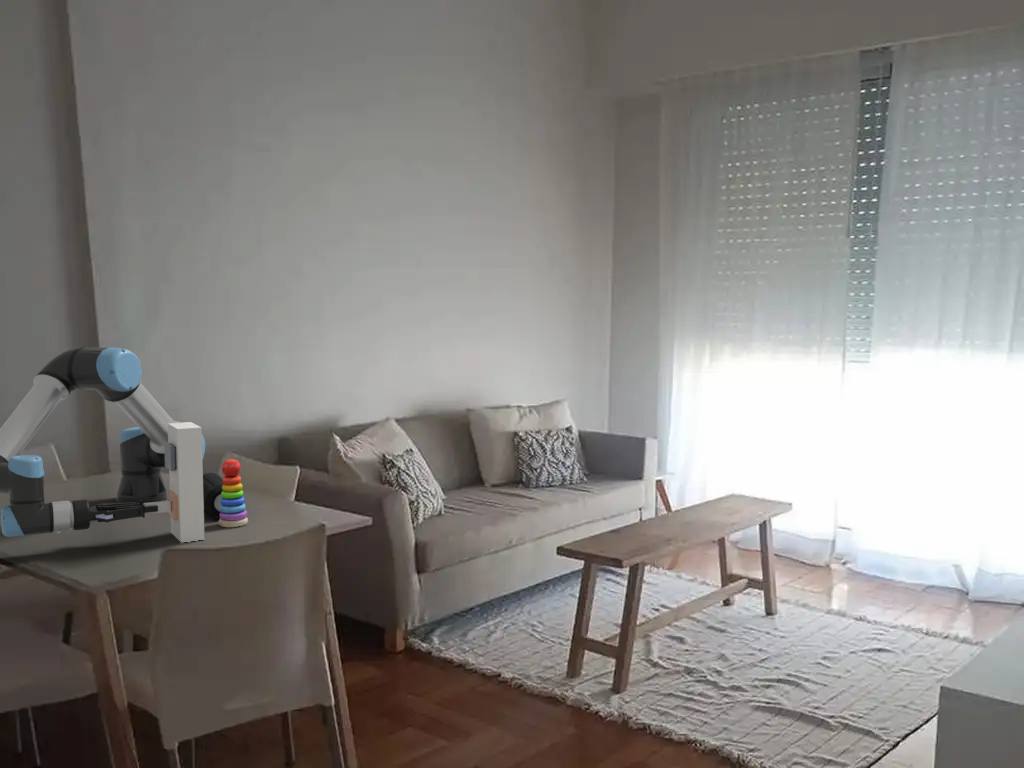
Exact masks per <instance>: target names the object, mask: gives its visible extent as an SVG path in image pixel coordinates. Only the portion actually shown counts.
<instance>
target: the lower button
mask: <svg viewBox="0 0 1024 768" xmlns="http://www.w3.org/2000/svg"><path fill="white" fill-rule="evenodd" d="M167 491H168V498H167V501H171V512H167V514H168V516H169V517H170V518H171V517H172V518H173V519H174V520H178V496H177V495H176V494H175V493H174V492H173V491H172V490H171V491H170V490H167Z"/></svg>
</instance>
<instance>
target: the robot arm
mask: <svg viewBox="0 0 1024 768" xmlns="http://www.w3.org/2000/svg"><path fill="white" fill-rule="evenodd" d="M141 365H142V363H141V361H140V359H139V358H138V356H137V355H136V354H135V353H134V352H132V351H131V350H129V349H127V348H120V347H115V346H114V347H85V346H81V347H80V346H78V347H76V346H75V347H72V348H68V349H66V350H64V351H63V352H61V353H59V354H57V355H56V356H55V357H53V358H52V359H51V360H49V362H47V363H46V364H45V365H44V366H43V367H42V368H41V369H40V370H39V372H38V373H37V374H36V375H35V376H34V377H33V386H32V387H31V388H30V389H29V391H28V392H27V393H26V395H25V396H24V397H23V399H22V400H21V401H20V402H19V403H18V405H17V406H16V408H14V410H13V411H12V413H11V414H10V415H9V417H8V418H7V419H6V420H5V422H4V423H3V425H2V426H1V427H0V494H3V495H4V494H7V495H9V504H8V505H5V506H2V507H1V509H0V513H1V515H0V518H1V519H0V522H1V523H0V524H1V532H2V535H3V536H5V537H25V536H26V537H27V536H33V535H41V534H51V533H56V534H58V535H61V534H62V532H70V531H71V530H74V531H80V530H81V531H82V530H83V531H84V530H88V529H90V526H91V522H92V521H97V522H98V523H110V522H114V521H122V520H127V519H134V518H144V519H145V517H146V515H151V514H152V515H153V514H160V513H161V514H162V513H168V512H171V501H168V491H169V490H168V488H167V485H166V483H165V480H164V478H163V475H162V469H164V468H165V469H167V468H166V467H165V448H164V443H168V423H182V422H181V421H178V420H173V418H172V417H171V416H170V415H169V413H167V412H166V410H165V409H164V408H163V407H162V406H161V404H159V402H158V401H157V400H156V398H154V397H153V395H152V394H150V392H149V390H148V389H146V387H145V385H143V384H142V376H143V369H142V368H141ZM77 390H90V391H96V392H97V393H98V394H99V395H100V396H101V397H102V398H103V399H104V400H105V401H107V402H109V403H116V404H117V406H119V408H120V409H121V410H122V411H123V412H124V413H125V414H126V416H128V417H129V419H130V420H132V422H133V423H134V424H135V425H136V426H135V427H130V428H129V427H128V428H125V429H123V430H122V431H121V432H120V437H119V438H120V439H119V446H120V447H119V448H120V449H119V450H120V451H119V452H120V469H121V470H120V471H121V473H120V474H121V475H120V480H119V483H118V485H117V486H118V487H117V489H116V492H115V493H116V494H115V501H116V502H112V503H111V502H110V503H109V502H108V503H105V502H100V503H97V504H96V503H95V506H90V502H89V500H88V499H86V498H85V499H73V500H72V501H69V500H61V501H60V500H59V501H52V502H45V471H44V464H43V463H44V462H43V459H42V457H41V456H39V455H38V454H35V455H34V454H28V455H27V454H24V455H23V454H22V452H23V451H24V450H25V448H26V447H27V446H28V444H29V443H30V441H31V440H32V439H33V437H34V436H35V435H36V434H37V432H38V430H39V429H40V428H41V426H42V425H43V424H44V423H45V422H46V421H47V419H48V417H49V416H50V415H51V413H52V412H53V411H54V410H55V408H56V407H57V405H58V404H59V403H60V401H64V400H66V399H67V398H68V397H69V396H70V395H71V394H72V393H74V392H75V391H77ZM205 451H206V440H205V437H204V435H203V434H202V460H203V459H204V455H205ZM21 454H22V455H21ZM166 499H167V500H166Z"/></svg>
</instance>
